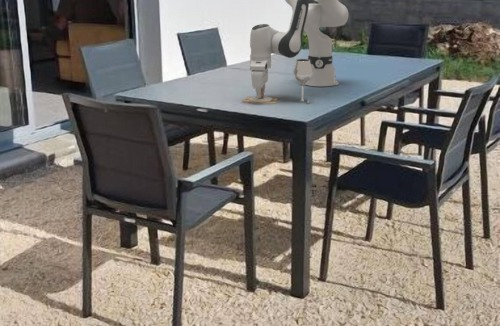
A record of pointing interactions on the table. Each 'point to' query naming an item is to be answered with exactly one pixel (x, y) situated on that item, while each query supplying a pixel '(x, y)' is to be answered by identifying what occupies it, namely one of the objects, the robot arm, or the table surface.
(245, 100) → the mat
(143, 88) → the table surface
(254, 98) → the lid
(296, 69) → the wineglass
